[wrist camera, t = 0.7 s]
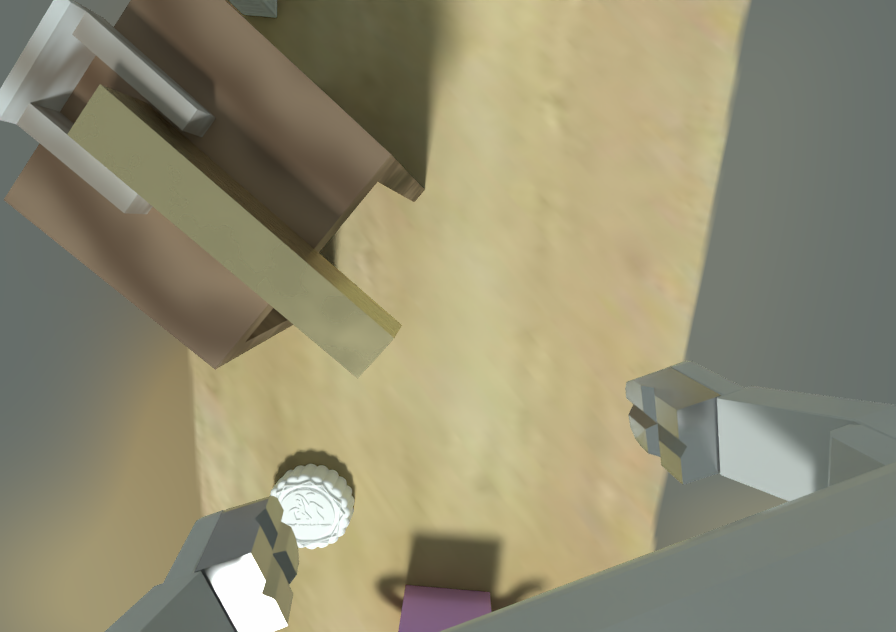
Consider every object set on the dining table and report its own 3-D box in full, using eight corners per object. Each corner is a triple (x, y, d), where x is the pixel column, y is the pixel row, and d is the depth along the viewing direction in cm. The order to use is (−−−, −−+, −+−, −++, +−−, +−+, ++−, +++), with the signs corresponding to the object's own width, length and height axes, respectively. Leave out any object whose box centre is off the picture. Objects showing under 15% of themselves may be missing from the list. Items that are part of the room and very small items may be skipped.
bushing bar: (146, 102, 28) (99, 84, 24) (402, 325, 30) (394, 338, 27) (116, 146, 28) (67, 134, 25) (369, 361, 31) (357, 378, 27)
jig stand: (307, 81, 51) (115, -103, 23) (424, 189, 53) (382, 145, 25) (212, 208, 54) (-59, 187, 26) (325, 305, 57) (189, 384, 28)
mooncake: (352, 462, 62) (345, 476, 58) (357, 534, 64) (351, 552, 60) (270, 462, 62) (259, 476, 58) (279, 534, 64) (268, 552, 61)
